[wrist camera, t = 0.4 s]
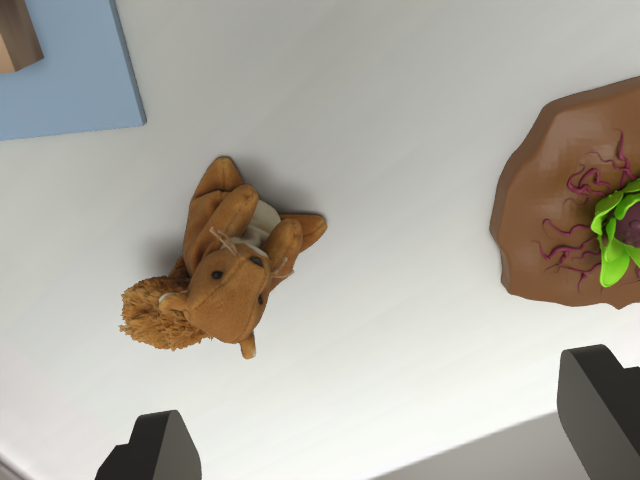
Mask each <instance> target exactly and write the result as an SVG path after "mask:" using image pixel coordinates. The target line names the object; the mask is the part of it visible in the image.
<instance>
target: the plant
mask: <svg viewBox="0 0 640 480" xmlns="http://www.w3.org/2000/svg"><path fill="white" fill-rule="evenodd" d="M490 232H491V234H492V236H493V238H494V240H495V241H496V243H497V244H498V246H499V248H500V251H501V260H502V276H501V283H502V284H503V285H504V287H505V288H506V290H507V291H508V293H509V294H511V295H516V296H520V297H523V298H525V299H529V300H535V301H546V302H553V303H558V304H562V305H565V306H571V307H577V306H587V305H593V304H598V303H607V304H610V305H612V306H613V307H615V308H616V309H618V310H620V309H622V308H623V307H625V306H627V305H629V304H632V303H636V302H637V303H640V76H639V77H635V78H631V79H627V80H624V81H621V82H617V83H614V84H611V85H607V86H604V87H601V88H597V89H594V90H590V91H585V92H581V93H577V94H573V95H570V96H566V97H563V98H560V99H557V100H555V101H552V102H550V103H548V104H547V105H545V106H544V107H543V109H542V110H541V112H540V114H539V116H538V118H537V119H536V121H535V123H534V125H533V127H532V129H531V130H530V132H529V134H528V135H527V137H526V139H525V140H524V142H523V143H522V144H521V146H520V147H519V148H518V149H517V150H516V151H515V152H514V153H513V154H512V155H511V157H510V158H509V159H508V161H507V163H506V165H505V167H504V169H503V171H502V174H501V176H500V178H499V181H498V185H497V190H496V196H495V202H494V207H493V212H492V216H491V221H490Z"/></svg>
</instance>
